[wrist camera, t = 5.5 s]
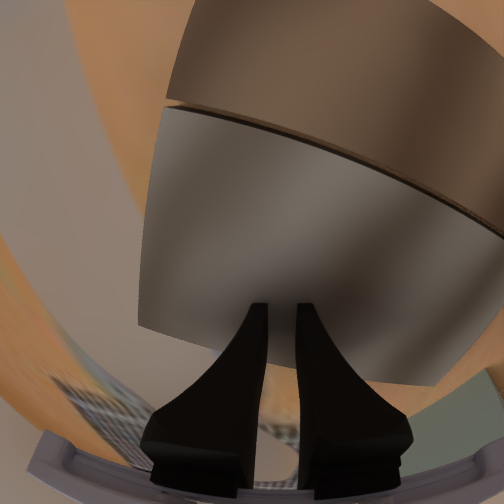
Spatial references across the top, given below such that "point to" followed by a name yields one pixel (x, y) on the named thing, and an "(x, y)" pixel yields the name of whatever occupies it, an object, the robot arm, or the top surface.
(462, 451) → the l-shaped corner panel
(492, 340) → the top surface
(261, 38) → the walnut floor row
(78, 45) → the top surface
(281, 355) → the grey oak plank
